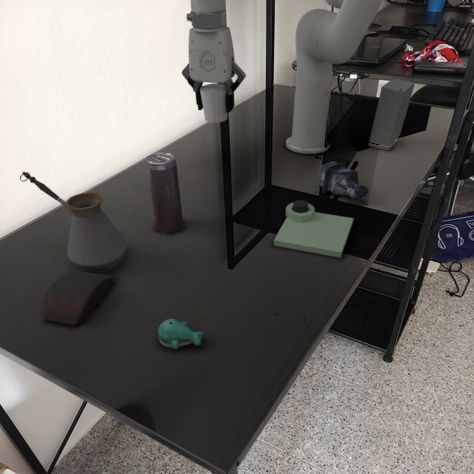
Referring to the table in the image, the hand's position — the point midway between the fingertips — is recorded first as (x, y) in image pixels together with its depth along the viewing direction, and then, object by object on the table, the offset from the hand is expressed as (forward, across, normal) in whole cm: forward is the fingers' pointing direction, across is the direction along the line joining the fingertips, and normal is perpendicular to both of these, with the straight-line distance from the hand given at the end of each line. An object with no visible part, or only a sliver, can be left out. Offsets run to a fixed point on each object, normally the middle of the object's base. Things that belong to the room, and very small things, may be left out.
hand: (215, 109), depth 107 cm
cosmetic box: (+16, +40, +29) cm, 52 cm away
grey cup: (+2, 0, 0) cm, 2 cm away
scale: (+14, +32, -26) cm, 44 cm away
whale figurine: (+14, +19, -65) cm, 69 cm away
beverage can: (+14, +1, -33) cm, 36 cm away
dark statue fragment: (+15, +34, -6) cm, 38 cm away
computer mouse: (+13, -2, -61) cm, 62 cm away
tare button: (+12, +28, -21) cm, 37 cm away
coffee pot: (+13, -11, -48) cm, 51 cm away
